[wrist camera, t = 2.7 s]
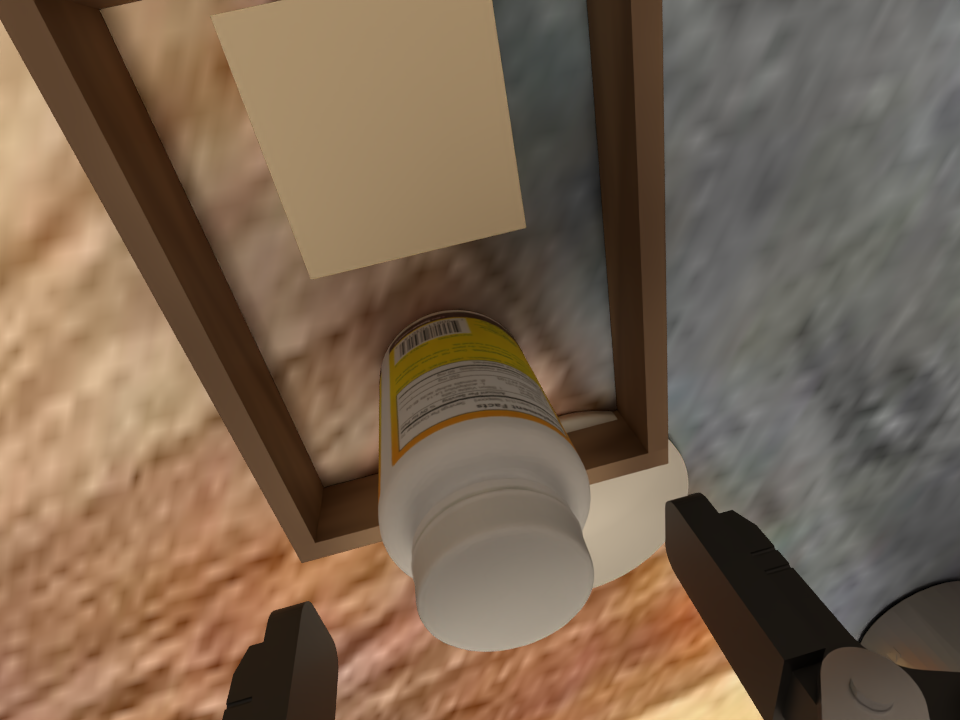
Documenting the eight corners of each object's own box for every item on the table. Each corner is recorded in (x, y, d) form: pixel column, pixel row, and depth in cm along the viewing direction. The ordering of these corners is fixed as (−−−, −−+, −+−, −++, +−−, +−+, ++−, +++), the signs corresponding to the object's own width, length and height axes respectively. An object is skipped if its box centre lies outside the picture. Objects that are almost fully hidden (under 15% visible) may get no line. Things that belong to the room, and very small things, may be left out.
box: (448, 5, 14) (485, -44, 9) (482, 185, 17) (525, 228, 12) (274, 43, 14) (210, 15, 9) (334, 220, 17) (311, 280, 11)
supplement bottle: (476, 446, 22) (539, 692, 13) (355, 398, 20) (330, 652, 11) (548, 341, 20) (681, 543, 11) (423, 276, 18) (461, 461, 9)
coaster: (682, 383, 22) (689, 390, 21) (681, 552, 27) (687, 561, 27) (435, 448, 21) (437, 457, 21) (484, 608, 27) (486, 618, 26)
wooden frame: (606, -137, 13) (659, -192, 11) (635, 420, 22) (668, 463, 20) (48, -22, 13) (-39, -52, 10) (311, 506, 22) (301, 563, 19)
